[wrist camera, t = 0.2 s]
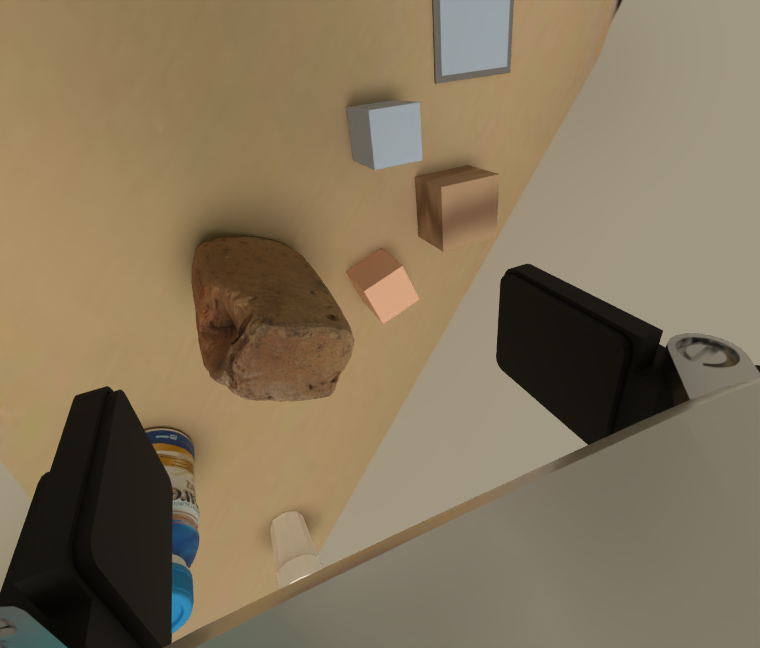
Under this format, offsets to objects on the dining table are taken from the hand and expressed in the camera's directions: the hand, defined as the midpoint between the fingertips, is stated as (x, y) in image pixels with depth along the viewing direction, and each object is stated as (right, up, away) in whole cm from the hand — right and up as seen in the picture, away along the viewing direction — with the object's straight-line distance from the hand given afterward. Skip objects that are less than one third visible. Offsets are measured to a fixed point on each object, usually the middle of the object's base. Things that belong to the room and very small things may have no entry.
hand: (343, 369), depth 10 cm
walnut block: (+8, +16, +40) cm, 44 cm away
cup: (-14, -30, +56) cm, 64 cm away
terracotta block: (0, +7, +41) cm, 42 cm away
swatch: (+10, +31, +32) cm, 46 cm away
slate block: (0, +21, +33) cm, 39 cm away
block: (-13, +7, +35) cm, 38 cm away
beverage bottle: (-26, -14, +41) cm, 50 cm away
